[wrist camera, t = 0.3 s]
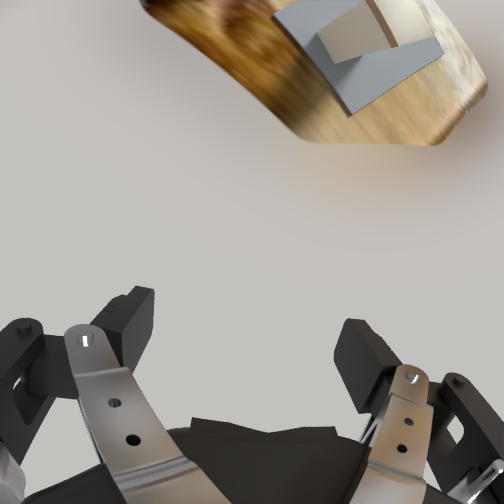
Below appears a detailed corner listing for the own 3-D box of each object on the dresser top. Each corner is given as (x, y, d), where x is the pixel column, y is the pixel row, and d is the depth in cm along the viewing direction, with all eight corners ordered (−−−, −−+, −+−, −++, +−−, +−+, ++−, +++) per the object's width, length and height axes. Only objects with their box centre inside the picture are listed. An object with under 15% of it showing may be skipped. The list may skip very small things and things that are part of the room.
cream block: (334, 64, 30) (398, 46, 17) (316, 32, 27) (370, -4, 14) (364, 54, 29) (435, 37, 16) (347, 22, 27) (410, -10, 14)
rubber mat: (272, 15, 26) (273, 14, 26) (382, -33, 22) (384, -34, 21) (350, 114, 34) (352, 114, 33) (442, 53, 29) (444, 53, 28)
